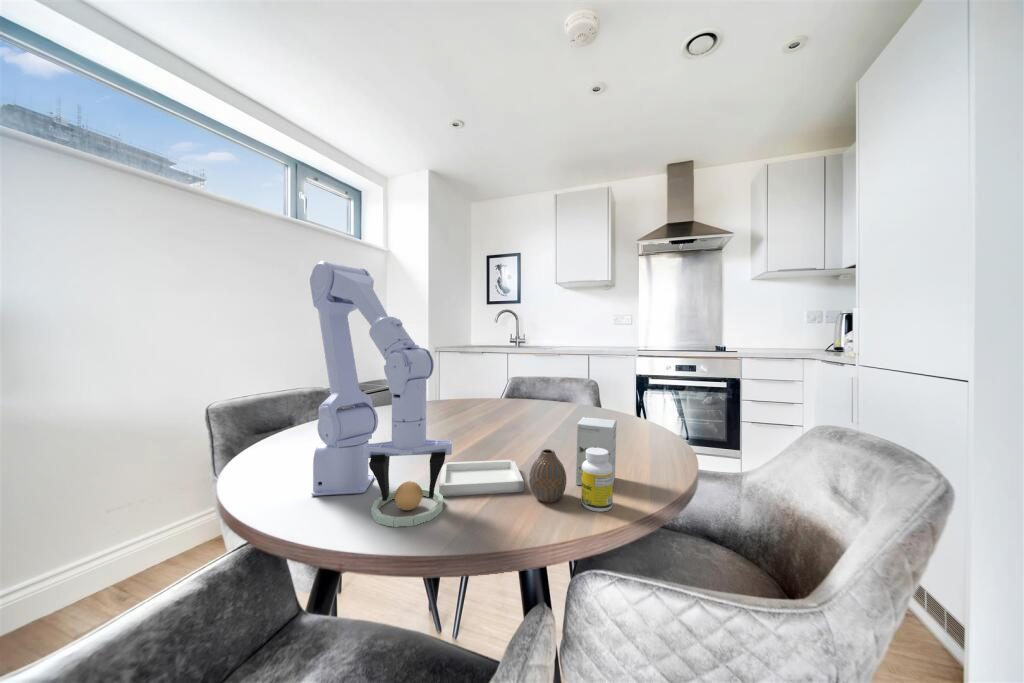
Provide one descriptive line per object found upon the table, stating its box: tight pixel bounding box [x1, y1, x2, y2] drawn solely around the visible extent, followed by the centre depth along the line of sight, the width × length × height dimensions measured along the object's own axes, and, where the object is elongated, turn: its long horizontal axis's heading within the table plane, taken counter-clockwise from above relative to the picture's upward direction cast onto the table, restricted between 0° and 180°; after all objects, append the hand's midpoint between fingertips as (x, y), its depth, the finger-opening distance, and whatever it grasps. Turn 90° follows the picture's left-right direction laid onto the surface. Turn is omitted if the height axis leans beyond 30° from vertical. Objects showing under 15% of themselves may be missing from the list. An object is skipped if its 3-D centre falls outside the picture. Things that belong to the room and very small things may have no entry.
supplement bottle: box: [581, 448, 614, 513], centre depth 63 cm, size 5×5×10 cm
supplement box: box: [575, 416, 618, 487], centre depth 73 cm, size 7×7×13 cm
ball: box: [394, 480, 423, 511], centre depth 61 cm, size 5×5×5 cm
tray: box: [438, 459, 525, 497], centre depth 73 cm, size 16×12×2 cm
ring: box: [370, 486, 444, 528], centre depth 61 cm, size 12×12×1 cm
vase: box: [528, 448, 567, 504], centre depth 65 cm, size 7×7×9 cm
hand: (408, 496), depth 61 cm, fingers open, 7 cm apart
